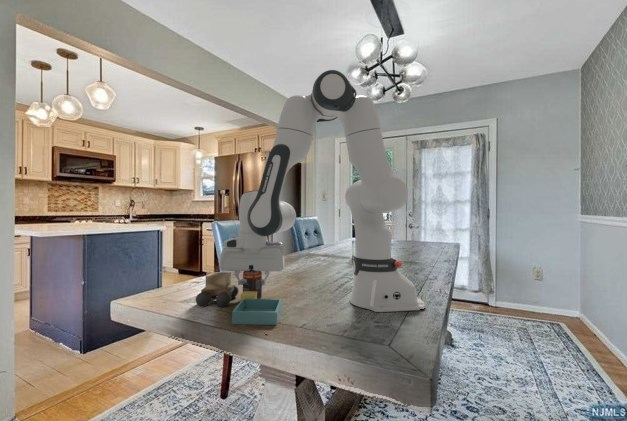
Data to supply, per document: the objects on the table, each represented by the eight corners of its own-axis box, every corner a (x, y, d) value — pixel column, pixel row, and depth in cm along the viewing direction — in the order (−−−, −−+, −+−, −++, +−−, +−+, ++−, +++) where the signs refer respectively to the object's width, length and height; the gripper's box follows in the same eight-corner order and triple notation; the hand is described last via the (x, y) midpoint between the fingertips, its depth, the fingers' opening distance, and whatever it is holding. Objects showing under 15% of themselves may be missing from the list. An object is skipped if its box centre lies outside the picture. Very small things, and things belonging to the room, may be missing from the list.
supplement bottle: (263, 297, 100) (264, 262, 100) (258, 302, 94) (259, 265, 94) (246, 296, 100) (246, 262, 100) (239, 301, 94) (240, 265, 94)
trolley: (238, 296, 99) (238, 271, 99) (229, 306, 89) (229, 278, 89) (208, 296, 100) (208, 270, 100) (195, 306, 89) (195, 277, 89)
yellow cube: (256, 304, 92) (257, 291, 92) (254, 309, 88) (254, 295, 88) (243, 304, 92) (243, 291, 92) (240, 308, 88) (240, 295, 88)
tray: (281, 310, 87) (282, 299, 87) (276, 324, 76) (277, 312, 76) (242, 309, 87) (243, 298, 87) (232, 324, 76) (232, 311, 76)
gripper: (286, 240, 100) (285, 282, 100) (224, 240, 100) (223, 282, 100) (284, 242, 94) (283, 287, 94) (218, 242, 94) (217, 286, 94)
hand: (252, 284), depth 97 cm, fingers closed on supplement bottle, 6 cm apart
